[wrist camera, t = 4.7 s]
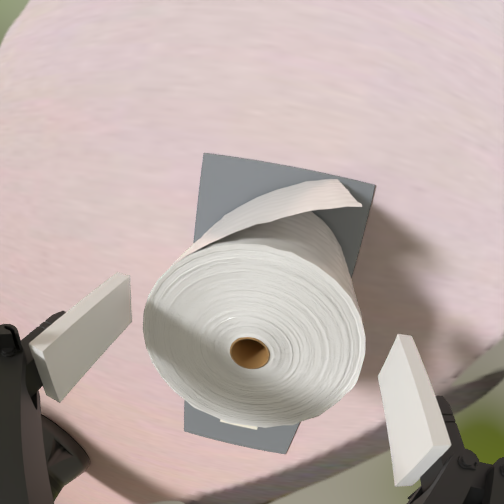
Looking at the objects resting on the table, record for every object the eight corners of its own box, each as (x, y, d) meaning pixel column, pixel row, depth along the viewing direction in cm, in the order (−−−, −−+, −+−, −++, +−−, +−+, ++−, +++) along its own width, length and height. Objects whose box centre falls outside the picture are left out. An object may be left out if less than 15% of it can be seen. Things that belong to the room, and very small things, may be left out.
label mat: (285, 453, 31) (285, 454, 30) (184, 430, 32) (183, 431, 32) (374, 184, 20) (375, 185, 20) (204, 152, 21) (203, 152, 21)
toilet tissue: (211, 330, 26) (167, 416, 16) (192, 184, 22) (114, 216, 13) (341, 332, 24) (352, 428, 15) (345, 177, 20) (379, 205, 11)
